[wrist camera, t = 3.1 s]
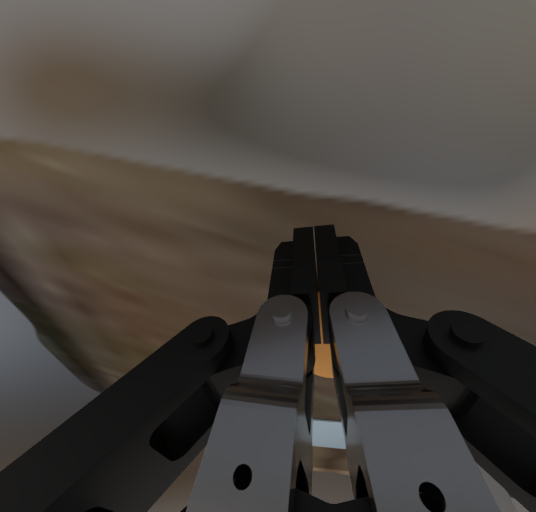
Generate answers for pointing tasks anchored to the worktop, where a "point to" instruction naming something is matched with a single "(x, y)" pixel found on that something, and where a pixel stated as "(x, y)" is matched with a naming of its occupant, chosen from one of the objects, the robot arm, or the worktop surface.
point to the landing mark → (328, 434)
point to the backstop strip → (330, 460)
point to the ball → (322, 354)
